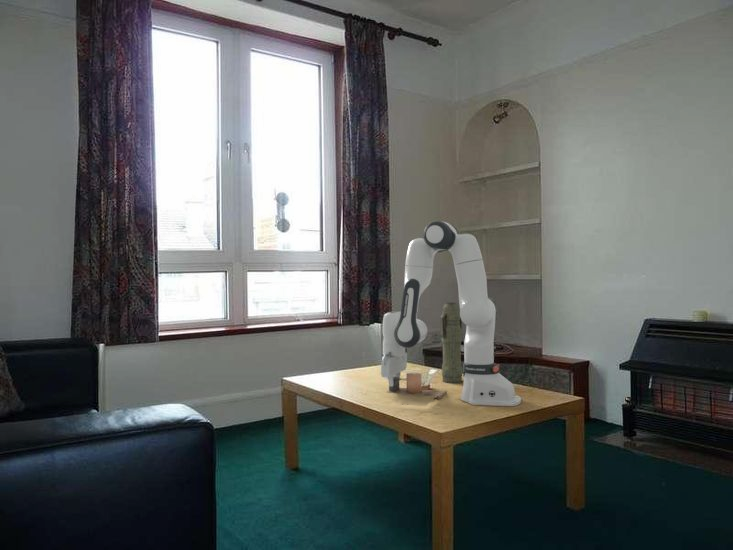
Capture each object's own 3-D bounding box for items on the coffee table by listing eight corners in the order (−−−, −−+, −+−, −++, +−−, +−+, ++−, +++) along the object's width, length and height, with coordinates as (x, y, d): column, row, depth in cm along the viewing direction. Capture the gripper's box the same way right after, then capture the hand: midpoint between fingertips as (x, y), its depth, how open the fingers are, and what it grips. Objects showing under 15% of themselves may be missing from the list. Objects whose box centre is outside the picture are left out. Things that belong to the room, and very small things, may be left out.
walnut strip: (446, 394, 224) (446, 378, 224) (439, 399, 215) (439, 383, 215) (395, 390, 233) (395, 375, 233) (386, 395, 224) (386, 379, 224)
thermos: (435, 381, 251) (434, 303, 250) (453, 378, 258) (452, 301, 258) (450, 384, 244) (449, 303, 244) (468, 380, 252) (467, 302, 251)
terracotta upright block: (423, 390, 226) (423, 373, 226) (419, 393, 221) (418, 375, 221) (409, 389, 229) (409, 372, 228) (404, 392, 223) (404, 374, 223)
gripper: (391, 354, 217) (392, 390, 217) (409, 347, 236) (409, 380, 236) (376, 353, 220) (377, 389, 220) (395, 347, 238) (395, 379, 238)
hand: (394, 384), depth 228 cm, fingers open, 4 cm apart
